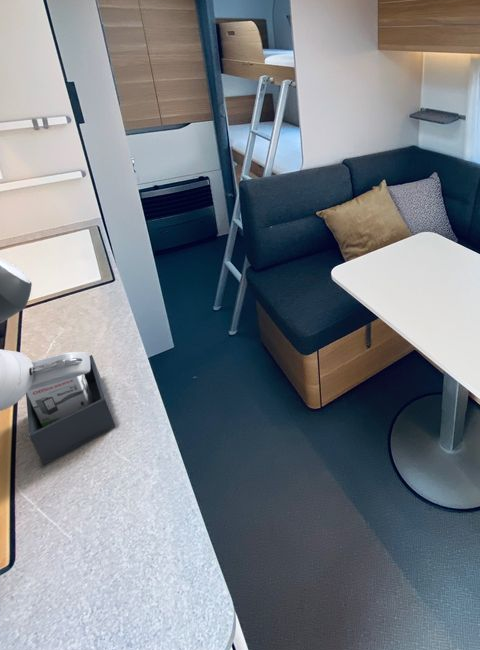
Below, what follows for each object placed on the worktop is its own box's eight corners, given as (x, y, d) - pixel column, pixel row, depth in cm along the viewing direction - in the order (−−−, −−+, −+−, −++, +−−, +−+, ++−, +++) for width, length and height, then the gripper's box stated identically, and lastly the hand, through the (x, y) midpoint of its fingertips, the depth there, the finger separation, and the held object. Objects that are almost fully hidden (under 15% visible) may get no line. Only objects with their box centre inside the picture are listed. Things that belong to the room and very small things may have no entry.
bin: (38, 410, 90) (24, 383, 87) (101, 380, 97) (91, 354, 94) (44, 465, 79) (29, 436, 76) (115, 426, 86) (105, 399, 83)
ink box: (44, 433, 84) (23, 391, 79) (47, 415, 88) (27, 374, 83) (93, 414, 88) (76, 373, 83) (94, 397, 92) (78, 357, 87)
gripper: (73, 339, 67) (100, 345, 79) (-93, 382, 60) (-35, 382, 72) (76, 379, 65) (103, 379, 77) (-95, 428, 57) (-36, 421, 70)
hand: (36, 381), depth 74 cm, fingers open, 8 cm apart
